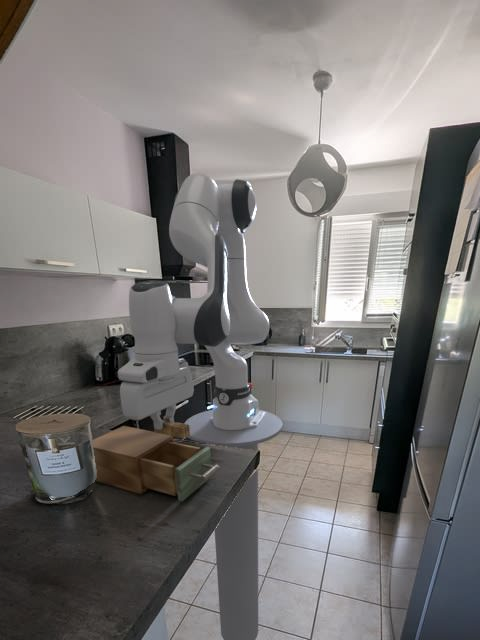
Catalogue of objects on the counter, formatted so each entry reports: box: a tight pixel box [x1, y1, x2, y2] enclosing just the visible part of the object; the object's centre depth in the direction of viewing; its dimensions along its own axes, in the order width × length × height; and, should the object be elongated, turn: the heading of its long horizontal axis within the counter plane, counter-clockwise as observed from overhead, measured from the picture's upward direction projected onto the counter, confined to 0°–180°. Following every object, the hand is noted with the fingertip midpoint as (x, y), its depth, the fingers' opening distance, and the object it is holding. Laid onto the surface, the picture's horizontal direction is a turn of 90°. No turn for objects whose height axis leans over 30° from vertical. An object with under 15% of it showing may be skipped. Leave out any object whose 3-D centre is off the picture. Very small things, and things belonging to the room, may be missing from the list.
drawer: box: [138, 441, 220, 502], centre depth 84 cm, size 20×12×8 cm, turn 64°
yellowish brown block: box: [153, 421, 190, 440], centre depth 80 cm, size 8×2×3 cm, turn 63°
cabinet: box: [91, 425, 175, 495], centre depth 89 cm, size 17×14×10 cm
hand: (164, 426), depth 80 cm, fingers closed on yellowish brown block, 2 cm apart
